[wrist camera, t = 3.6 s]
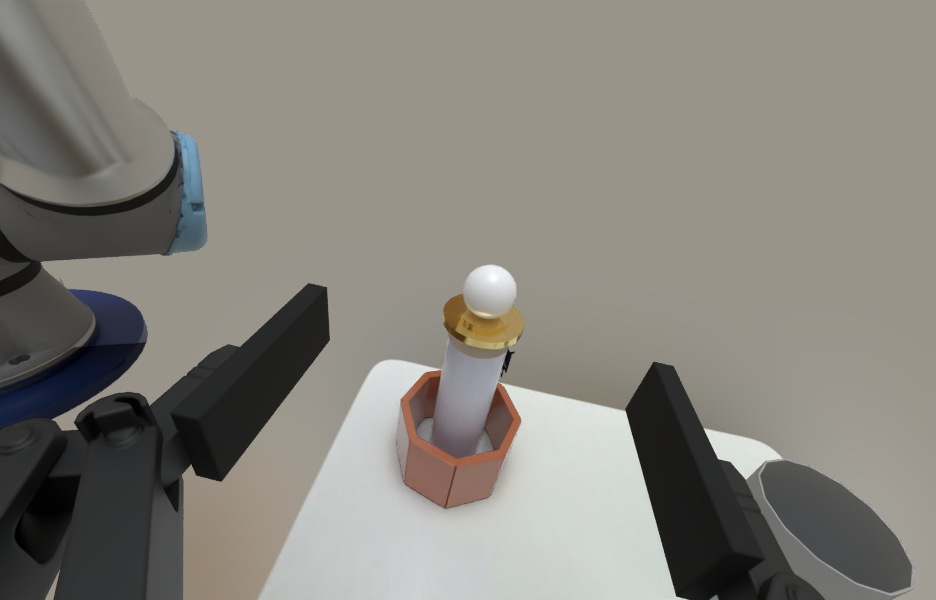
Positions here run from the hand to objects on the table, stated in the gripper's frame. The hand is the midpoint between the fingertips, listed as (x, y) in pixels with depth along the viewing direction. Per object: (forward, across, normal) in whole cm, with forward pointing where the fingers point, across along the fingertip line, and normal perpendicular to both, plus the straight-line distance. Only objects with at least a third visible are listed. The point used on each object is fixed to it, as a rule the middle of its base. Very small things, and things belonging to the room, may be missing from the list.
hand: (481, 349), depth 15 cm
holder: (+10, 0, -21) cm, 23 cm away
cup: (+5, +25, -22) cm, 33 cm away
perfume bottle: (+10, 0, -21) cm, 24 cm away
